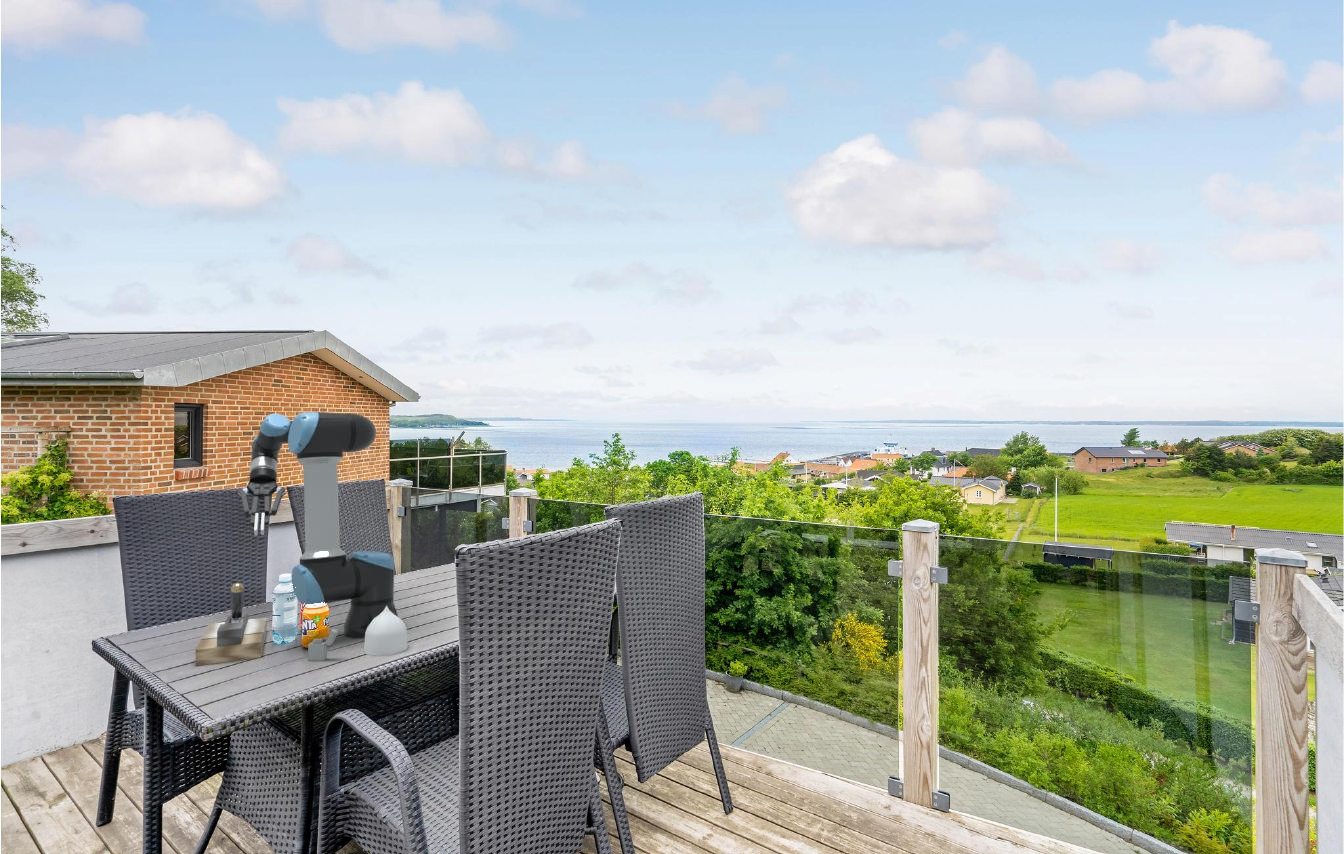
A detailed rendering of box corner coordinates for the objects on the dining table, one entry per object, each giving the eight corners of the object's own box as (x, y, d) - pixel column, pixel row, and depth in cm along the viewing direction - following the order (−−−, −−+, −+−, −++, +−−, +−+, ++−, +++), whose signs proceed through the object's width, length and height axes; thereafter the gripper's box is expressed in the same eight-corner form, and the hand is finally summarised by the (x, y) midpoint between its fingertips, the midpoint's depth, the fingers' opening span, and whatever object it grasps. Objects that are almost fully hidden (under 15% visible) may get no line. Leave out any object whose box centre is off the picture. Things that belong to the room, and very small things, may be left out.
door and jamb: (266, 631, 194) (267, 603, 194) (260, 657, 172) (261, 626, 172) (208, 637, 187) (209, 609, 187) (195, 665, 165) (195, 633, 165)
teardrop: (379, 658, 172) (380, 612, 173) (354, 650, 178) (355, 606, 178) (416, 647, 182) (416, 603, 182) (391, 640, 188) (392, 598, 188)
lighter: (307, 660, 170) (308, 629, 170) (311, 658, 172) (311, 627, 172) (335, 660, 170) (336, 629, 171) (338, 658, 172) (339, 627, 172)
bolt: (243, 621, 189) (244, 580, 189) (239, 632, 178) (240, 590, 178) (231, 622, 187) (231, 581, 187) (226, 634, 177) (227, 591, 177)
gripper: (288, 481, 220) (285, 538, 205) (238, 482, 213) (232, 541, 199) (288, 466, 215) (285, 523, 201) (237, 466, 209) (230, 526, 194)
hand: (258, 532), depth 200 cm, fingers closed
